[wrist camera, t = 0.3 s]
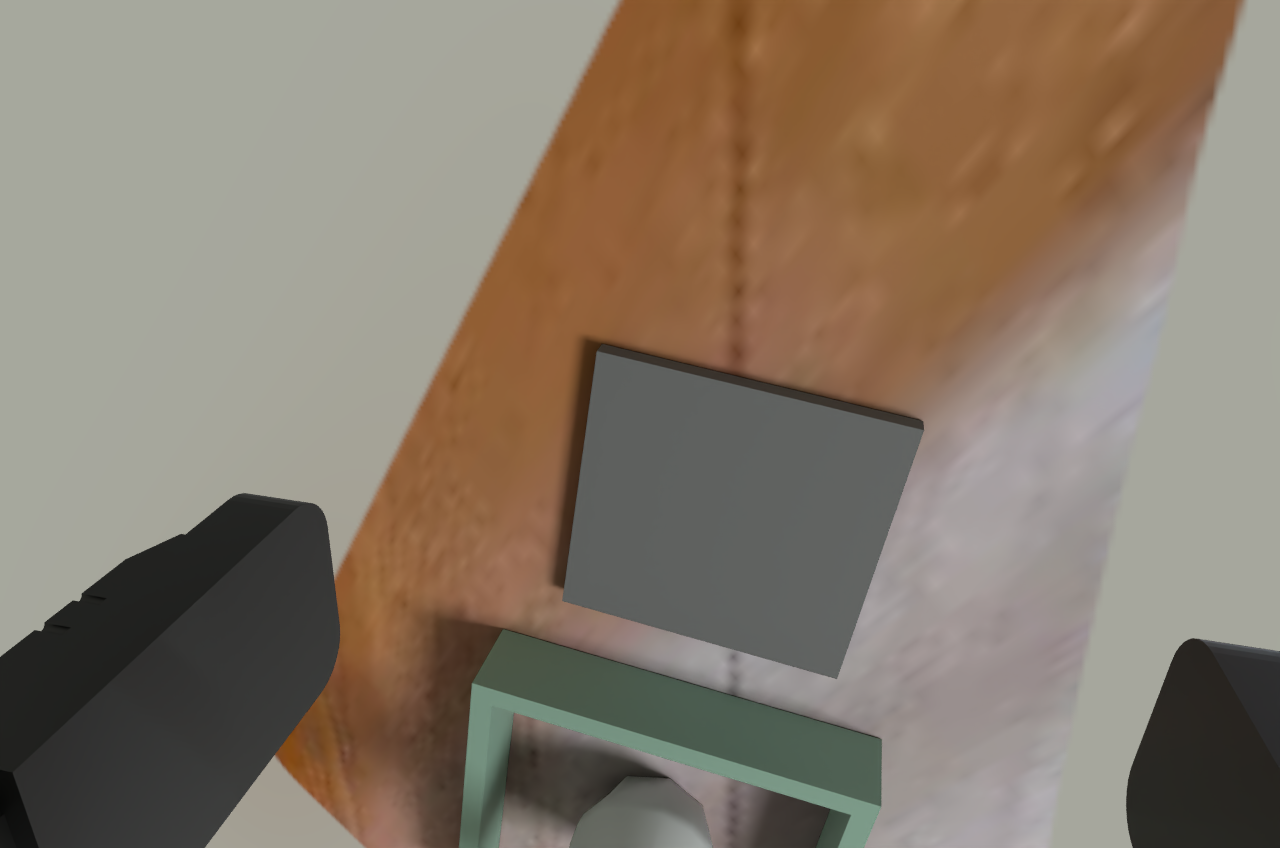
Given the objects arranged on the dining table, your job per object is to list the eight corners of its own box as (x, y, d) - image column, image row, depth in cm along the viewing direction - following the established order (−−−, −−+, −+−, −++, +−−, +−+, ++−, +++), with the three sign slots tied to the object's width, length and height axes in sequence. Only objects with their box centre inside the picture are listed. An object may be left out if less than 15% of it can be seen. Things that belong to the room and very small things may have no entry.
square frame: (503, 629, 35) (471, 683, 32) (881, 739, 33) (881, 806, 30) (479, 865, 42) (452, 925, 39) (789, 968, 40) (782, 1039, 37)
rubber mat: (602, 343, 28) (596, 351, 28) (923, 421, 27) (923, 430, 26) (567, 590, 33) (562, 601, 32) (837, 667, 32) (836, 679, 31)
